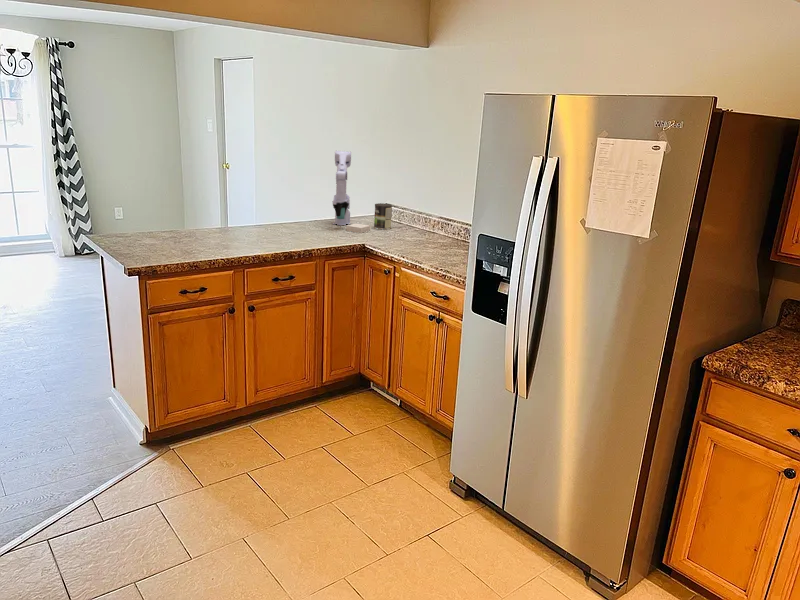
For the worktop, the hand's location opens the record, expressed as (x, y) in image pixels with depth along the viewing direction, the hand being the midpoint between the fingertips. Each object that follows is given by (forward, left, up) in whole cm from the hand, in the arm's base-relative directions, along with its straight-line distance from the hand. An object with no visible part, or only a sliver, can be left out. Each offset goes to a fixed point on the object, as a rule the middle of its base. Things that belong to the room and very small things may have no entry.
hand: (340, 215), depth 353 cm
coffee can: (-20, +17, -8) cm, 27 cm away
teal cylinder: (0, 0, -2) cm, 2 cm away
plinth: (-2, +11, -8) cm, 14 cm away
